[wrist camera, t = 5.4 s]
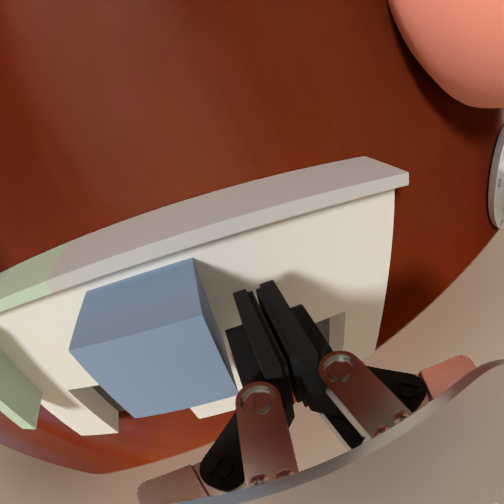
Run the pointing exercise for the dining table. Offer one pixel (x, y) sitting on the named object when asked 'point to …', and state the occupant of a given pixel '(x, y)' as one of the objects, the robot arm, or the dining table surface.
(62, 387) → the box
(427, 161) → the dining table surface
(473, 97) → the sugar bowl
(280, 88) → the dining table surface
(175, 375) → the block
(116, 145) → the dining table surface
